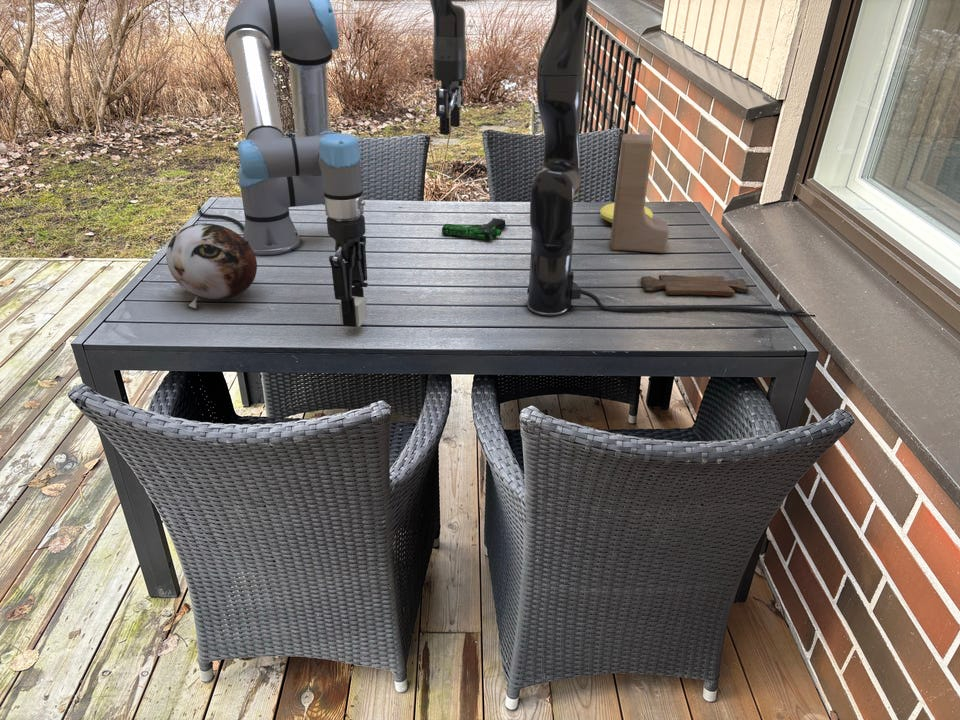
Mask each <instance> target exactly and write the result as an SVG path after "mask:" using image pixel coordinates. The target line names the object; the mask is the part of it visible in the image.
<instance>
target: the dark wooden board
mask: <svg viewBox="0 0 960 720" xmlns="http://www.w3.org/2000/svg"><path fill="white" fill-rule="evenodd" d="M640 280H641V286H642V288H643V289H644V291H645V292H657V291H661V290H664V291H665V294H666V295H668V296H669V295H672V296H678V295H703V296H705V295H707V296H724V297H725V296H726V297H727V296H728V297H729V296H730V297H731V296H734V295H735V294H736V292H739V293H747V292H748V286H747V284H746V281H745V279H744V278H736V279H732V280H731V279H730V280H725V276H724V275H677V274H676V275H675V274H659V275H658V278H656V277H653V276H650V275H649V276H646V275H645V276H641V278H640Z"/></svg>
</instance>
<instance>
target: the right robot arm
mask: <svg viewBox="0 0 960 720" xmlns="http://www.w3.org/2000/svg"><path fill="white" fill-rule="evenodd" d="M429 3H430V7H431V10H432V15H433V39H432V40H433V41H432V68H433V69H432V72H433V73H432V75H433V76H432V77H433V79H434V80H435V81H439V82H440V88H439V87H438V88H436V89H435V115H436V117H438V118H439V134H440V135H442V136H449V135H450V133H451V127H452V128H459V127H460V126H461V110H462V107H463V106H464V81H465V80H466V79H467V39H466V11H465V8H464V7H463V6H461V5H458V4H454V3H453V1H452V0H429ZM588 5H589V0H555V12H554V18H553V21H552V25H551V26H550V30H549V31H548V34H547V37H546V39H545V41H544V43H543V46H542V48H541V50H540V53H539V55H538V60H537V64H536V98H537V107H538V112H539V116H540V120H541V124H542V128H543V129H542V130H543V133H544V151H543V161H542V169H541V170H540V171H539V172H538V173H537V174H536V175H535V177H534V178H533V180H532V183H531V188H530V198H529V199H530V200H529V227H530V229H531V239H530V241H531V243H530V260H529V275H528V276H529V278H528V288H527V289H526V290H527V292H526V294H527V295H528V296H527V309H528V310H529V311H530V312H531V313H533V314H536V315H539V316H543V317H544V316H545V317H556V316H560V315H563V314H565V313H567V312H571V311H572V301H573V300H574V301H575V300H580V299H581V297H582V295H583V296H586V297H589V298H591V299H592V300H594V302H595V303H596V305H597V306H598V307H599V309H601V310H604V311H607V312H614V313H625V312H627V313H628V312H633V313H634V312H638V313H639V312H643V313H644V312H663V311H665V312H666V311H669V312H670V311H697V310H698V311H701V310H703V311H705V310H707V311H709V310H710V311H715V310H717V311H743V312H754V313H755V312H757V313H768V314H777V315H791V316H792V315H800V314H806V313H805V312H802V310H801V309H802V308H799V309H784V310H785V311H786V312H785V311H778V308H768V307H756V306H755V307H753V306H740V305H708V304H707V305H701V304H700V305H670V306H669V305H668V306H647V307H645V306H643V307H641V306H639V307H638V306H637V307H636V306H635V307H633V306H630V307H627V306H625V307H612V306H608V305H606V304H603V303H602V302H601V300H600V299H599V297H598V296H597V295H595V294H593V293H592V292H590V291H587V290H584V289H582V288H581V287H580V286H579V285H578V284H577V283H576V282H575V281H574V278H575V275H574V274H575V273H574V271H573V270H572V259H573V247H574V237H575V227H574V224H573V211H574V200H575V198H576V197H578V194H579V192H580V189H581V185H582V175H581V161H580V129H581V119H582V118H581V117H582V107H583V96H584V95H583V93H584V69H585V67H584V66H585V65H584V64H585V63H584V62H585V61H584V60H585V59H584V58H585V42H586V26H587V13H588Z"/></svg>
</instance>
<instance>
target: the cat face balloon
mask: <svg viewBox="0 0 960 720" xmlns="http://www.w3.org/2000/svg"><path fill="white" fill-rule="evenodd" d="M248 242H249V241H246V240H245V239H244V238H243V236H242V235H240V234H239V233H238V232H236V231H234V230H233V229H231V228H229V227H226V226H223V225H220V224H215V223H205V222H204V223H195V224H191V225H188V226H186V227H183V228H182V229H180V230H179V231H177V232H176V233H175V234H174V235H173V237H171V239H170V241H169V243H168V245H167V248H166V254H165V260H166V265H167V268H168V271H169V273H170V275H171V276H172V277H173V279H174V280H175V281H176V282H177V284H178V285H180V286H181V287H182V288H183V289H185V290H186V291H187V292H189V293H191V294H194V295H195V298H194V299H193V300H192V302H190V303H189V304H188V306H189V307H191V308H192V309H197V308H198V307H197V298H198V297H201V298H205V299H210V300H226V299H230V298H233V297H236V296H238V295H241V294H242V293H244V292H245V291H247V290H248V289H249V288H250V286H251V285H252V284H253V282H254V280H255V278H256V275H257V271H258V262H257V257H256V254H254V252H253V250H252V248H251V247H250V245H249V244H248Z"/></svg>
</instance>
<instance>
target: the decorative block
mask: <svg viewBox="0 0 960 720" xmlns="http://www.w3.org/2000/svg"><path fill="white" fill-rule="evenodd" d="M653 145H654V143H653V138H652V136H651V135H650V134H640V133H639V134H638V133H624V134H622V136H621V143H620V153H619V162H618V172H617V179H616V188H615V197H614V203H615V205H614V213H613V222H612V223H611V231H610V248H611V250H613V251H624V252H625V251H626V252H641V253H657V254H665V253H667V250H668V244H669V237H670V228H669V225H668V221H666V220H662V219H657V218H653V217H652V218H651V217H650V216H648V215H647V214H646V213H645V209H644V206H645V205H646V198H647V191H648V190H647V189H648V183H649V175H650V168H651V160H652V154H653ZM645 207H646V206H645Z"/></svg>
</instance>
